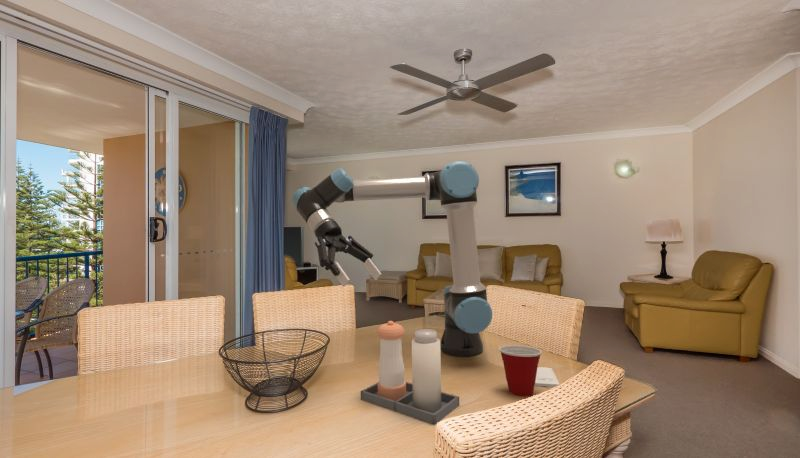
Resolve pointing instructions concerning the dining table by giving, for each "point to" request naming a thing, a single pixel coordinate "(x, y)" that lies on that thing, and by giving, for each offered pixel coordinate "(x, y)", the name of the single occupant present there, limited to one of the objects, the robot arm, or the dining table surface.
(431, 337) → the salt shaker
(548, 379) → the external hard drive
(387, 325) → the pepper shaker
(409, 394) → the shaker caddy
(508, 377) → the plastic cup
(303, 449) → the dining table surface
